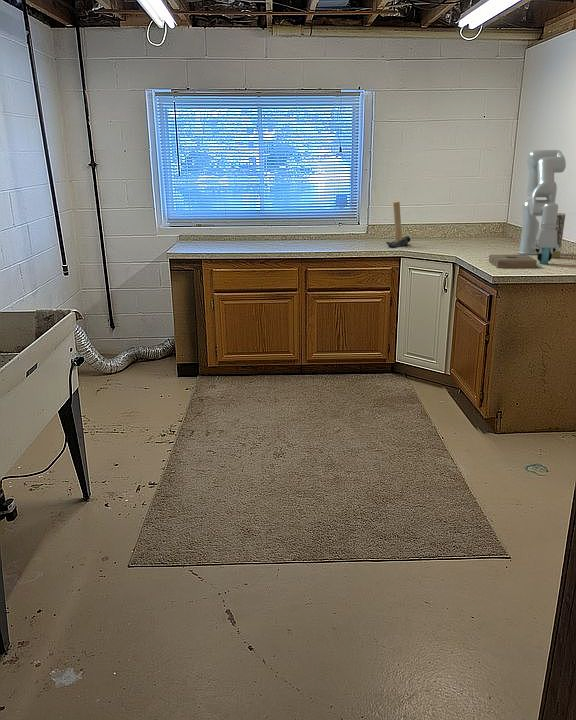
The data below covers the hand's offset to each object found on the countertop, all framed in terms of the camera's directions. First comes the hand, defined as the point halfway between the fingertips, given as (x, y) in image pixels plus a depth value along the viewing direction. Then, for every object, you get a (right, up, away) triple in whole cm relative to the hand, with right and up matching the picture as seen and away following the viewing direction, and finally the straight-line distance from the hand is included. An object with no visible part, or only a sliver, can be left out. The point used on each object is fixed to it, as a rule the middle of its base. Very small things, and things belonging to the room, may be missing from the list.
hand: (544, 260), depth 327 cm
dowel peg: (0, -2, +1) cm, 2 cm away
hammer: (-67, +22, +73) cm, 101 cm away
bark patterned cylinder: (+14, +5, +19) cm, 24 cm away
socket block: (-18, -2, -1) cm, 18 cm away
